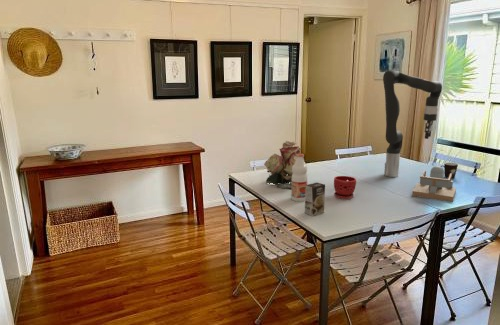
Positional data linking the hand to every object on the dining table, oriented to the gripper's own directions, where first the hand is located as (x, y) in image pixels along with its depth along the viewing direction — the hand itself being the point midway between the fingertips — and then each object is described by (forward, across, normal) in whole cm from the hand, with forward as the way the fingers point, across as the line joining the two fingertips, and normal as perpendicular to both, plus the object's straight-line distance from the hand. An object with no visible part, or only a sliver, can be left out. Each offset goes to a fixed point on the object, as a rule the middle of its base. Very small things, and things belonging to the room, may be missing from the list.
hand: (427, 137), depth 240 cm
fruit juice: (+33, +71, -57) cm, 97 cm away
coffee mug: (+32, -26, +12) cm, 43 cm away
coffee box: (+32, +87, -40) cm, 101 cm away
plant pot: (+32, +53, -35) cm, 71 cm away
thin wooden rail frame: (+24, +18, +10) cm, 32 cm away
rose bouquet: (+34, +46, -78) cm, 97 cm away
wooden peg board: (+31, +19, +10) cm, 38 cm away
